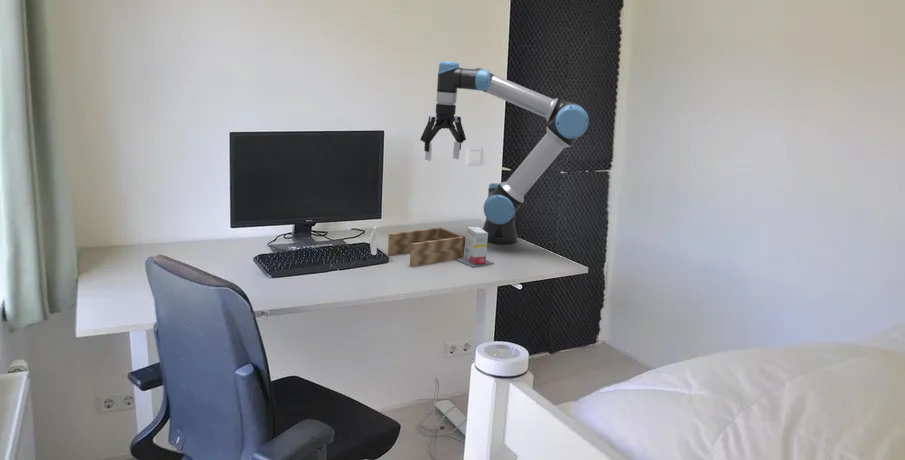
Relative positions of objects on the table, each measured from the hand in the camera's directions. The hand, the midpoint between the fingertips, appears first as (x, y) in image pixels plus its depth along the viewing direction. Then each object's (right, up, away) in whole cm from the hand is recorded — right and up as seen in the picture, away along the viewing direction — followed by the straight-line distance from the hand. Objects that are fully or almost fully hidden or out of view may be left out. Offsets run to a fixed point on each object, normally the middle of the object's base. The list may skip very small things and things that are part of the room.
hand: (442, 159), depth 273 cm
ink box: (+12, -39, -15) cm, 43 cm away
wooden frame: (-6, -37, -13) cm, 39 cm away
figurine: (-25, -37, -19) cm, 49 cm away
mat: (+12, -39, -15) cm, 43 cm away
